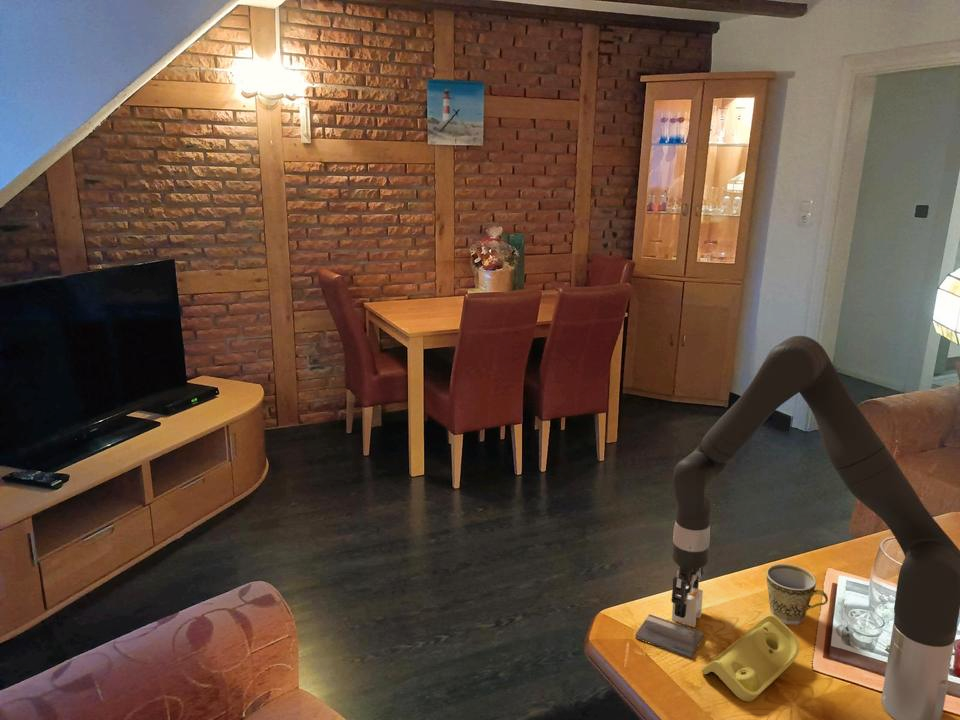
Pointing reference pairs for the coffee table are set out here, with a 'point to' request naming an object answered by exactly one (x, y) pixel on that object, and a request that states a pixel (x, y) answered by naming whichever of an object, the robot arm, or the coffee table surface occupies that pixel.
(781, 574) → the ceramic cup
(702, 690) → the coffee table surface
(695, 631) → the panel
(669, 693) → the coffee table surface
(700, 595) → the block
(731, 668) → the plastic component
